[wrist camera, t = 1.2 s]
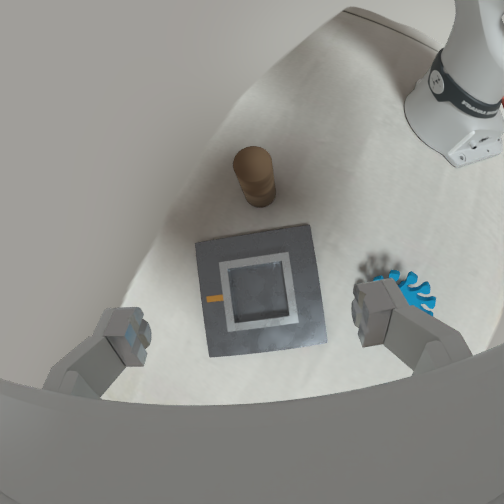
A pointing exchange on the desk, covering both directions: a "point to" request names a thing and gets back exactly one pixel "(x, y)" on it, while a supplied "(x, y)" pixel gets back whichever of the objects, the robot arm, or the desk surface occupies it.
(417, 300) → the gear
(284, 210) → the desk surface
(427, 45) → the desk surface
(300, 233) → the square frame on plate
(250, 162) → the pin
